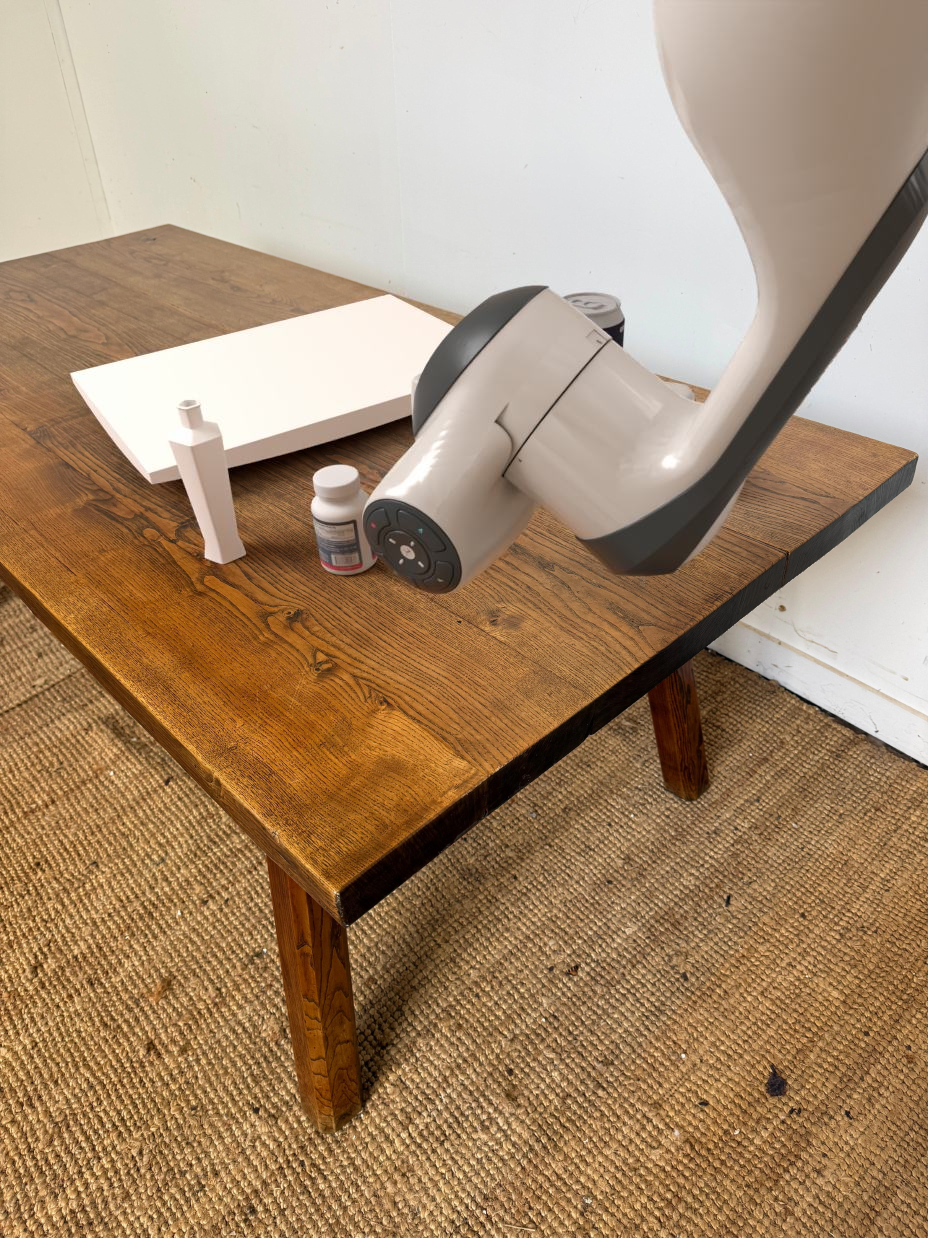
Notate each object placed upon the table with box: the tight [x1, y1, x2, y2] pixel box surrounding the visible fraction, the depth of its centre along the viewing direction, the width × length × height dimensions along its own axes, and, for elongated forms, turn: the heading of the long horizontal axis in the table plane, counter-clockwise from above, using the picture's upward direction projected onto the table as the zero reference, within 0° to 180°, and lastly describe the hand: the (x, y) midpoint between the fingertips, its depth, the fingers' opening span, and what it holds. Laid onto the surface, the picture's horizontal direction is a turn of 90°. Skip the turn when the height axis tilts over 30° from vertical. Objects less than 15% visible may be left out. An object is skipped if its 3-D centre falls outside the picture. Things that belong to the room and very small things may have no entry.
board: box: [69, 293, 455, 485], centre depth 108 cm, size 45×32×5 cm
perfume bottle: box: [168, 398, 247, 565], centre depth 79 cm, size 5×4×15 cm
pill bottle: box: [310, 464, 378, 576], centre depth 78 cm, size 5×5×9 cm
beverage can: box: [561, 291, 626, 349], centre depth 71 cm, size 6×6×12 cm
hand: (589, 365), depth 71 cm, fingers closed on beverage can, 5 cm apart
